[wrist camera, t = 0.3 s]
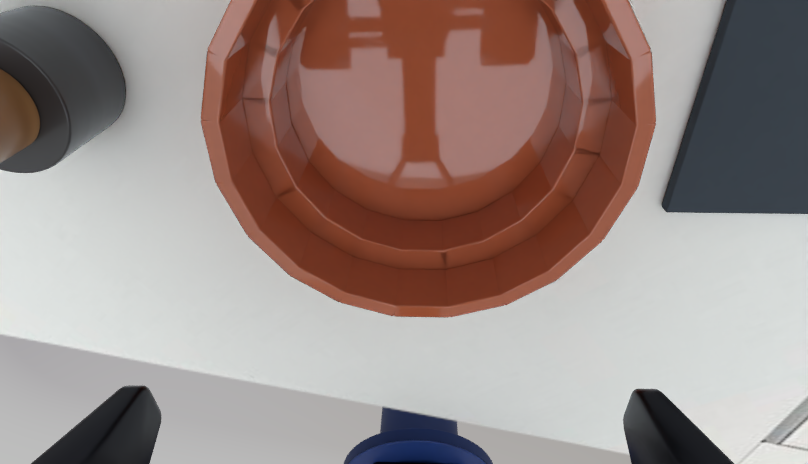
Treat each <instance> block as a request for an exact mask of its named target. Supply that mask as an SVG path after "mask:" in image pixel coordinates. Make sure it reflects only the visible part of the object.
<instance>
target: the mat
mask: <svg viewBox="0 0 808 464" xmlns="http://www.w3.org/2000/svg"><path fill="white" fill-rule="evenodd" d="M662 207H663V208H664V210H665V211H666V212H694V213H781V214H808V0H727V2H726V5H725V8H724V12H723V15H722V18H721V21H720V24H719V27H718V30H717V34H716V37H715V40H714V43H713V46H712V49H711V52H710V56H709V59H708V62H707V65H706V68H705V71H704V74H703V78H702V81H701V84H700V87H699V90H698V93H697V96H696V99H695V103H694V106H693V109H692V112H691V115H690V118H689V121H688V125H687V128H686V131H685V134H684V137H683V140H682V143H681V147H680V150H679V153H678V156H677V159H676V162H675V165H674V169H673V172H672V175H671V178H670V181H669V184H668V187H667V191H666V194H665V197H664V200H663V203H662Z"/></svg>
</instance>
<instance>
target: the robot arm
mask: <svg viewBox="0 0 808 464" xmlns="http://www.w3.org/2000/svg"><path fill="white" fill-rule="evenodd" d="M160 424H161V411H160V409H159V407H158V405H157V403H156V401H155V399H154V397H153V396H152V393H151V392H150V390H149V388H148V387H146V386H124V387H122V388H121V389H119V390H118V391H116V392H115V394H113V395H112V396H111V397H109V398H108V399H107V400H106V401H105V402H104V403H102V404H101V405H100V406H99V407H98V408H97V409H95V410H94V411H93V412H92V413H91V414H89V415H88V416H87V417H86V418H85V419H83V420H82V421H81V422H80V423H79V424H77V425H76V426H75V427H74V428H73V429H71V430H70V431H69V432H68V433H67V434H66V435H65V436H63V437H62V438H61V439H60V440H59V441H57V442H56V443H55V444H54V445H53V446H51V447H50V448H49V449H48V450H47V451H46V452H44V453H43V454H42V455H41V456H40V457H38V458H37V459H36V460H35V461H34V462H32V463H31V464H149V463H150V460H151V456H152V452H153V449H154V445H155V442H156V438H157V435H158V431H159V428H160ZM623 424H624V431H625V435H626V440H627V444H628V449H629V454H630V458H631V463H632V464H734V463H733V462H732V461H731V460H730V459H729V458H728V457H727V456H726V455H725V454H724V453H723V452H722V451H721V450H720V449H719V448H718V447H717V446H716V445H715V444H714V443H713V442H712V441H711V440H710V439H709V438H708V437H707V436H706V435H705V434H704V433H703V432H702V431H701V430H700V429H699V428H698V427H697V426H696V425H695V424H694V423H692V422H691V421H690V420H689V419H688V418H687V417H686V416H685V415H684V414H683V413H682V412H681V411H680V410H679V409H678V408H677V407H676V406H675V405H674V404H673V403H672V402H671V401H670V400H669V399H668V398H667V397H666V396H665V395H664V394H663V393H662V392H660V391H659V390H657V389H636V390H634V391H633V393H632V395H631V397H630V400H629V403H628V405H627V408H626V411H625V414H624V419H623ZM373 464H444V463H408V462H375V463H373Z"/></svg>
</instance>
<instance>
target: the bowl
mask: <svg viewBox="0 0 808 464" xmlns="http://www.w3.org/2000/svg"><path fill="white" fill-rule="evenodd" d="M655 122H656V113H655V97H654V82H653V66H652V52H651V51H650V46H649V44H648V42H647V40H646V38H645V35H644V33H643V31H642V29H641V27H640V24H639V22H638V20H637V18H636V16H635V13H634V11H633V9H632V7H631V5H630V3H629V0H231V1H230V3H229V5H228V7H227V9H226V11H225V13H224V16H223V18H222V20H221V22H220V24H219V26H218V28H217V30H216V32H215V34H214V36H213V38H212V41H211V43H210V45H209V47H208V51H207V59H206V69H205V80H204V90H203V100H202V111H201V124H202V128H203V133H204V137H205V141H206V145H207V149H208V153H209V158H210V162H211V166H212V170H213V174H214V178H215V182H216V183H217V186H218V188H219V189H220V191H221V193H222V194H223V196H224V198H225V199H226V201H227V203H228V204H229V206H230V208H231V209H232V211H233V213H234V214H235V216H236V218H237V219H238V221H239V223H240V224H241V226H242V228H243V229H244V231H245V233H246V234H247V235H248V237H249V238H250V239H251V240H252V241H253V242H254V243H255V244H257V245H258V246H259V247H260V248H261V249H262V250H263V251H264V252H265V253H266V254H267V255H268V256H269V257H270V258H272V259H273V260H274V261H275V262H276V263H277V264H278V265H279V266H280V267H281V268H282V269H283V270H284V271H285V272H286V273H288V274H289V275H290V276H291V277H293V278H295V279H297V280H299V281H301V282H302V283H304V284H306V285H308V286H310V287H312V288H314V289H315V290H317V291H319V292H321V293H323V294H325V295H326V296H328V297H330V298H332V299H334V300H336V301H338V302H341V303H344V304H348V305H352V306H356V307H359V308H363V309H367V310H371V311H375V312H379V313H383V314H386V315H390V316H400V317H449V316H450V317H454V316H458V315H463V314H468V313H472V312H477V311H481V310H486V309H490V308H495V307H500V306H504V304H505V305H507V304H509V303H511V302H513V301H515V300H517V299H520V298H522V297H524V296H526V295H528V294H530V293H532V292H534V291H536V290H538V289H540V288H542V287H544V286H546V285H548V284H550V283H552V282H554V281H556V280H557V279H559V278H560V277H561V276H562V275H563V274H565V273H566V272H567V271H568V270H569V269H570V268H572V267H573V266H574V265H575V264H576V263H577V262H579V261H580V260H581V259H582V258H583V257H584V256H585V255H587V254H588V253H589V252H590V251H591V250H592V249H594V248H595V247H596V246H597V245H598V244H599V243H601V242H602V240H603V239H604V238H605V237H606V235H607V234H608V232H609V231H610V229H611V228H612V226H613V224H614V223H615V221H616V220H617V218H618V217H619V215H620V214H621V212H622V211H623V209H624V208H625V206H626V205H627V203H628V202H629V200H630V199H631V197H632V196H633V194H634V192H635V191H636V189H637V187H638V186H639V182H640V178H641V175H642V171H643V168H644V164H645V161H646V157H647V154H648V150H649V146H650V143H651V139H652V136H653V132H654V129H655V125H656V123H655Z"/></svg>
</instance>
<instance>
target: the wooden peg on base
mask: <svg viewBox="0 0 808 464" xmlns="http://www.w3.org/2000/svg"><path fill="white" fill-rule="evenodd" d="M124 101H125V83H124V78H123V74H122V72H121V69H120V66H119V64H118V62H117V60H116V58H115V56H114V55H113V53H112V52H111V50H110V49H109V47H108V46H107V45H106V44H105V42H104V41H103V40H102V39H101V38H100V37H99V36H98V35H97V34H96V33H95V32H94V31H93V30H92V29H91V28H89V27H88V26H87V25H85V24H84V23H83V22H81V21H80V20H78V19H76V18H75V17H73V16H71V15H69V14H67V13H64V12H62V11H59V10H56V9H53V8H49V7H44V6H26V7H22V8H18V9H14V10H10V11H6V12H2V13H0V169H1V170H5V171H10V172H16V173H34V172H39V171H43V170H46V169H49V168H51V167H53V166H54V165H56V164H57V163H59V162H60V161H62V160H63V159H64V158H66V157H67V156H69V155H70V154H71V153H73V152H74V151H76V150H77V149H78V148H80V147H81V146H82V145H84V144H85V143H87V142H88V141H89V140H91V139H92V138H94V137H95V136H96V135H98V134H99V133H101V132H102V131H103V130H105V129H106V128H108V127H109V126H110V125H111V124H113V123H114V122H115V121H116V119H117V118H118V117H119V115H120V113H121V112H122V109H123V106H124Z"/></svg>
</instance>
